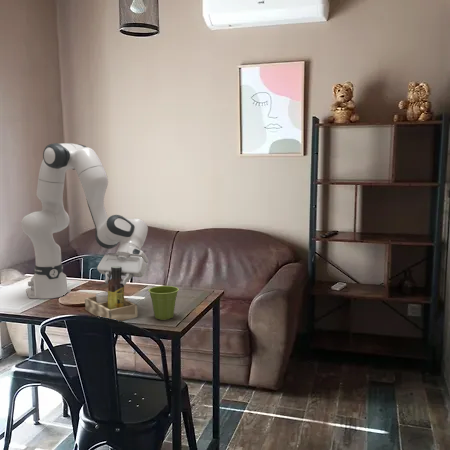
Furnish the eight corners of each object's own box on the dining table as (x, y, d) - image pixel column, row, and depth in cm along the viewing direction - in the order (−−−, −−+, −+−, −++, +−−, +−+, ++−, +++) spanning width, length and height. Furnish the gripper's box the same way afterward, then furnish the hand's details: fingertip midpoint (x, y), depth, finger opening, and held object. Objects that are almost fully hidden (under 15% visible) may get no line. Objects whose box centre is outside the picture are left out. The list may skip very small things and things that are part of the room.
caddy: (85, 309, 208) (84, 298, 207) (112, 304, 215) (111, 293, 214) (109, 323, 191) (108, 310, 190) (137, 317, 198) (137, 304, 197)
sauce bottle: (119, 319, 195) (119, 269, 192) (104, 317, 196) (104, 268, 193) (126, 314, 201) (127, 265, 198) (112, 312, 203) (112, 264, 200)
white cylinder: (109, 313, 203) (108, 296, 202) (93, 312, 204) (92, 295, 203) (116, 308, 210) (115, 292, 209) (101, 307, 211) (100, 291, 210)
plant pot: (185, 318, 196) (184, 290, 195) (157, 324, 189) (157, 295, 188) (170, 310, 206) (169, 283, 204) (143, 316, 199) (142, 288, 197)
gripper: (102, 248, 205) (88, 277, 198) (146, 251, 198) (133, 281, 190) (109, 257, 210) (96, 285, 202) (152, 260, 203) (140, 290, 195)
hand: (114, 283), depth 196 cm, fingers open, 6 cm apart
